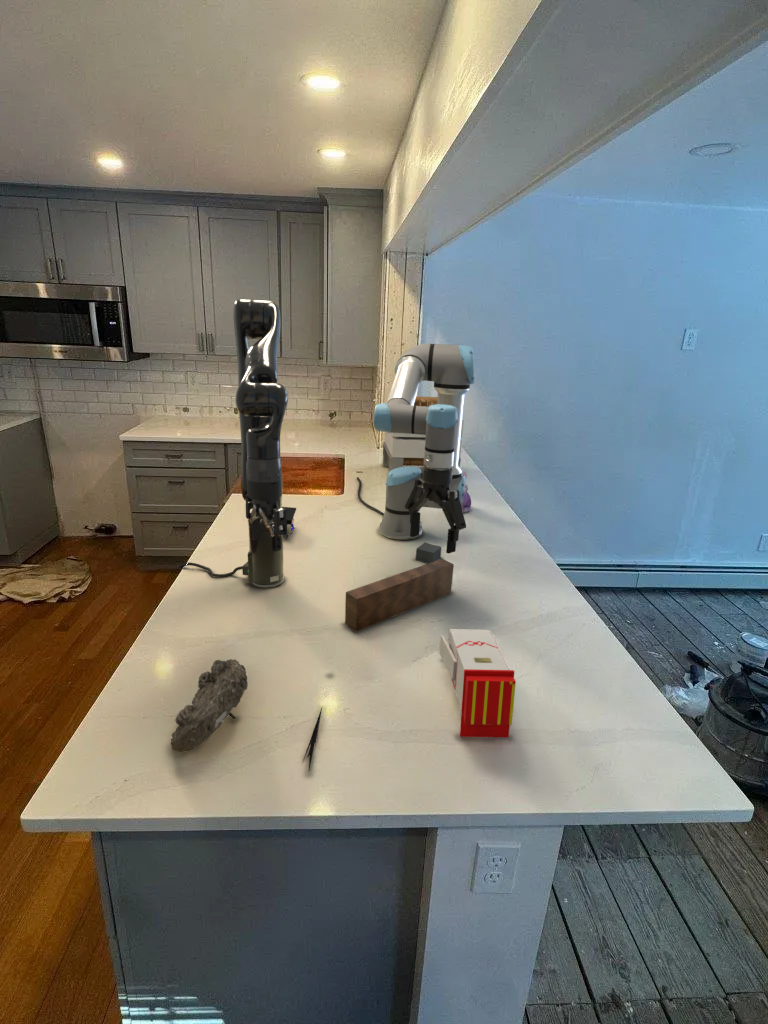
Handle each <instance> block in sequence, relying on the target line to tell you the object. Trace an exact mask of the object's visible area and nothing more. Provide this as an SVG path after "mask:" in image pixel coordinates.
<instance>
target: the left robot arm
mask: <svg viewBox="0 0 768 1024" xmlns="http://www.w3.org/2000/svg"><path fill="white" fill-rule="evenodd" d="M281 318H282V317H281V310H280V307H279V305H278V303H277V302H276V301H273V300H269V299H268V300H267V299H256V298H255V299H253V298H252V299H250V298H238V299H236V300H235V302H234V304H233V327H234V329H233V330H234V339H235V348H236V358H237V377H238V378H237V379H238V381H237V382H238V383H237V384H238V387H237V390H236V393H235V407H236V409H237V411H238V414H239V415H238V416H239V417H238V418H239V428H240V429H239V430H240V442H241V443H240V446H241V449H240V450H241V453H240V455H241V456H240V457H241V459H240V461H241V462H240V489H241V490H240V491H241V496H242V499H243V500H244V501H245V518H246V519H247V521H248V522H247V524H248V546H249V547H248V549H249V550H248V552H247V561H246V562H245V563H244V564H243V565H241V566H237V567H235V568H234V569H233V570H232V571H231V572H228V573H214V572H213V570H212V569H211V568H210V567H207V566H205V565H203V564H201V563H195V562H183V563H182V564H180V565H179V566H178V569H182V568H184V567H186V566H188V567H189V566H193V567H196V568H200V569H203V570H205V571H207V572H208V573H209V575H210V576H211V577H214V578H227V577H230V576H233V575H235V574H236V573H237V572H238V571H240V570H241V571H242V576H247V577H248V585H250V586H251V585H252V586H254V587H257V588H262V589H268V588H274V587H278V586H280V585H281V584H283V583H284V581H285V576H284V573H285V572H284V536H286V534H287V516H286V509H285V508H282V507H283V491H284V490H283V489H284V478H283V466H282V465H283V464H282V460H281V432H282V426H283V422H284V418H285V415H286V411H287V407H288V402H289V393H288V391H287V389H286V388H285V386H284V385H283V384H282V383H280V382H278V380H279V374H278V352H279V346H280V339H281V327H282V326H281V324H282V323H281ZM249 340H257V341H255V343H254V344H253V345H251V346H250V344H249ZM187 563H188V564H187ZM186 564H187V565H186Z"/></svg>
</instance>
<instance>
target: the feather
mask: <svg viewBox="0 0 768 1024" xmlns="http://www.w3.org/2000/svg"><path fill="white" fill-rule="evenodd" d="M329 675H330V676H331V675H332V674H331V673H330V674H329ZM322 710H323V707H321V708H320V710H319V713H318V716H317V719H316V723H315V725H314V728H313V731H312V733H311V737H310V739H309V742H308V745H307V748H306V751H305V754H304V757H303V760H302V763H301V767H302V765H303V763H304V761H305V758H308V759H309V760H308V762H307V763H308V764H307V766H308V771H310V770H311V766H312V765H311V764H312V760H313V757H315V756H314V755H315V751H316V749H315V746H317V739H318V733H319V729H320V722H321V717H322V712H323V711H322ZM313 754H314V755H313ZM306 755H307V757H306Z"/></svg>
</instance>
